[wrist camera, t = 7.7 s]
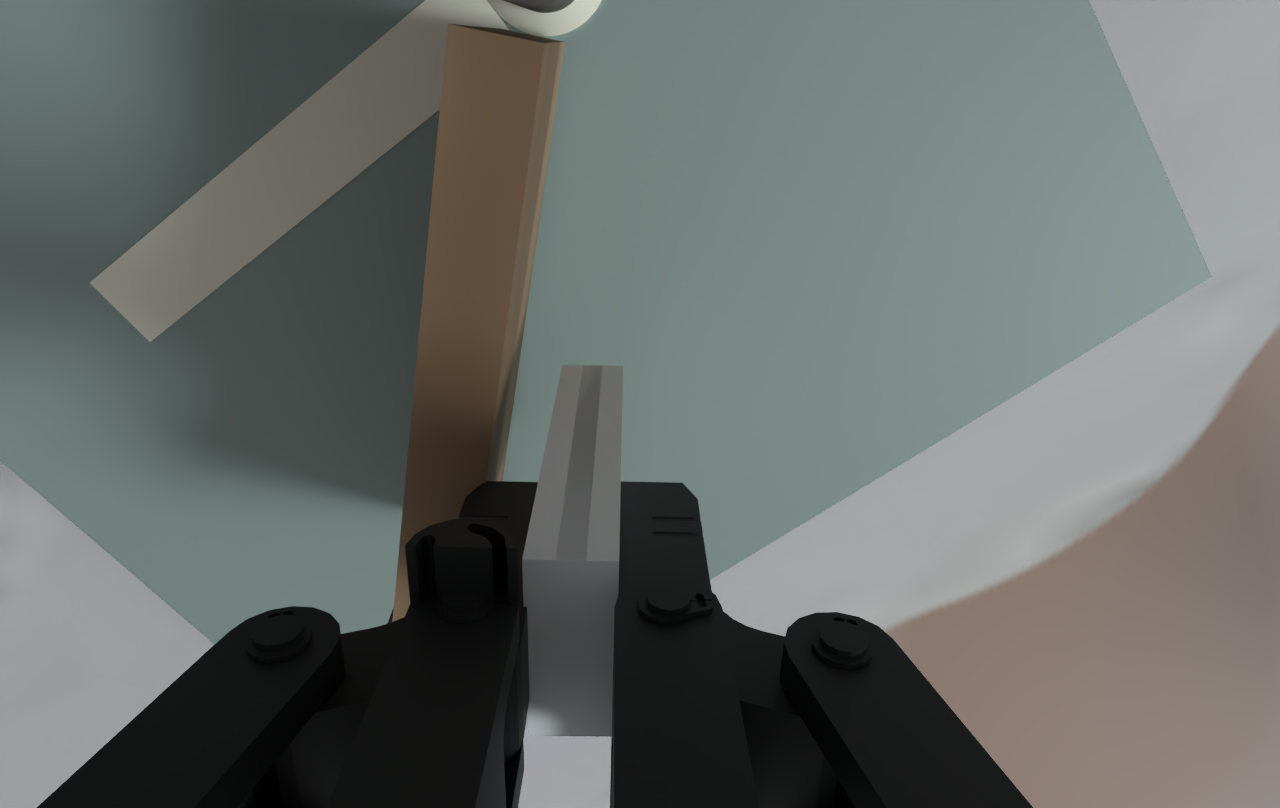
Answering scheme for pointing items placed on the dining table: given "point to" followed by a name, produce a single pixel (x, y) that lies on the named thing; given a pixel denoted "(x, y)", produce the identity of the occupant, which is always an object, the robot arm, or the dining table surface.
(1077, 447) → the dining table surface
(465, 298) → the fence gate
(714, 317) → the board
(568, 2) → the bar
